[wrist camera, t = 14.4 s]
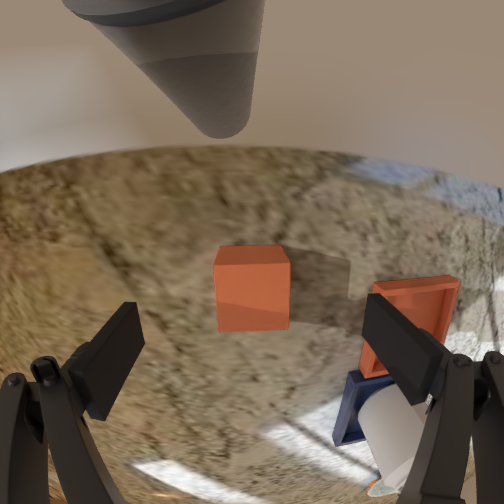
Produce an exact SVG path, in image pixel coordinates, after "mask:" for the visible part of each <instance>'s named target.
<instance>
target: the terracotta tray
mask: <svg viewBox="0 0 504 504" xmlns="http://www.w3.org/2000/svg"><path fill="white" fill-rule="evenodd" d="M459 284H460V281H458V280H456V279H455V278H453V277H451V276H450V275H445V276H436V277H427V278H417V279H406V280H395V281H383V282H374V284H373V292H372V293H380V294H381V295H382V296H383V297H385V298H386V299H387V300H388V301H389V302H390V303H391V304H392V305H393V306H395V307H396V308H397V309H398V310H399V311H400V312H401V313H402V314H403V315H404V316H405V317H407V318H408V319H409V320H410V321H411V322H412V323H413V324H414V325H415V326H416V327H417V328H422V329H424V330H426V331H428V332H429V333H431V334H432V335H433V336H434V338H436V339H437V340H438V341H439V342H440V343H441V344H442V345H443V343H444V340H445V337H446V334H447V331H448V327H449V324H450V321H451V317H452V313H453V310H454V306H455V302H456V297H457V293H458V289H459ZM359 369H360V371H361V372H362V374H363V376H364V378H370V377H375V376H380V375H385V374H389V373H388V371H387V370H386V369H385V367H384V366H383V364H382V363H381V361H380V360H379V359H378V357H377V356H376V354H375V353H374V351H373V350H372V349H371V347H370V346H369V344H368V343H367V342H366V340H364V345H363V349H362V354H361V359H360V363H359Z"/></svg>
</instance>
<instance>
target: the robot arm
mask: <svg viewBox="0 0 504 504" xmlns="http://www.w3.org/2000/svg"><path fill="white" fill-rule="evenodd" d="M362 336H363V338H364V339H365V340H366V342H367V343H368V344H369V346H370V347H371V349H372V350H373V351H374V353H375V354H376V356H377V357H378V359H379V360H380V361H381V363H382V364H383V366H384V367H385V369H386V370H387V371H388V373H389V374H390V376H391V377H392V379H393V380H394V382H395V383H396V384H397V386H398V387H399V389H400V390H401V392H402V393H403V395H404V396H405V398H406V399H407V401H408V402H409V404H410V405H411V406H414V405H417V404H420V403H423V402H425V400H426V398H427V395H428V393H430V394H431V395H432V397H433V398H432V400H431V402H430V404H429V406H428V408H427V410H426V412H425V414H426V415H427V418H426V422H425V426H424V429H423V433H422V436H421V440H420V443H419V446H418V449H417V452H416V455H415V458H414V461H413V464H412V466H411V469H410V472H409V474H408V477H407V479H406V482H405V484H404V487H403V489H402V491H401V493H400V496H399V498H398V500H397V502H396V504H466V503H465V500H464V499H461V498H460V494H461V490H462V486H463V482H464V477H465V472H466V467H467V462H468V456H469V449H470V441H471V437H472V443H473V451H474V460H475V471H476V488H477V504H504V356H503V355H502V354H501V353H499V352H497V351H489V352H487V353H486V354H485V356H484V358H483V361H477V362H473V361H472V360H471V358H470V357H468V356H466V355H463V354H452V353H451V352H450V351H449V350H448V349H447V348H446V347H445V346H443V345H442V344H441V343H440V342H439V341H438V340H437V339H436V338H434V336H433V335H432V334H431V333H429V332H428V331H426V330H424V329H422V328H417V327H416V326H415V325H414V324H413V323H412V322H411V321H410V320H409V319H408V318H407V317H405V316H404V315H403V314H402V313H401V312H400V311H399V310H398V309H397V308H396V307H395V306H393V305H392V304H391V303H390V302H389V301H388V300H387V299H386V298H385V297H383V296H382V295H381V294H380V293H372V294H368V297H367V304H366V311H365V317H364V324H363V330H362ZM144 344H145V341H144V337H143V332H142V328H141V323H140V318H139V314H138V308H137V303H136V302H124V303H123V304H122V305H121V306H120V308H119V309H118V310H117V311H116V312H115V313H114V314H113V316H112V317H111V318H110V319H109V320H108V321H107V323H106V324H105V325H104V326H103V327H102V328H101V330H100V331H99V332H98V333H97V334H96V335H95V337H94V338H93V339H92V340H91V341H90V342H85V343H84V344H82V345H81V346H79V347H78V348H77V349H76V351H75V352H74V354H72V355H71V357H70V358H69V359H68V360H67V361H66V363H65V364H64V365H63V366H62V367H61V369H60V368H59V365H58V363H57V361H56V359H55V358H54V357H52V356H43V357H40V358H37V359H36V360H35V361H33V363H32V364H31V366H30V369H31V371H32V373H33V376H34V378H35V380H36V382H27V380H26V378H25V376H24V374H22V373H17V372H16V373H12V374H9V375H8V376H7V377H6V378H5V379H4V381H3V384H2V386H1V389H0V504H50V498H49V485H48V444H49V448H50V452H51V455H52V459H53V462H54V466H55V469H56V472H57V475H58V478H59V481H60V484H61V487H62V490H63V492H64V495H65V497H66V500H67V502H68V504H127V503H126V501H125V500H124V498H123V497H122V495H121V493H120V492H119V490H118V488H117V486H116V485H115V483H114V481H113V479H112V477H111V475H110V474H109V472H108V470H107V468H106V466H105V464H104V462H103V460H102V458H101V456H100V453H99V451H98V449H97V447H96V445H95V443H94V440H93V438H92V436H91V433H90V431H89V428H88V426H87V423H86V421H85V419H84V417H83V413H84V411H85V410H86V411H87V412H88V414H89V416H90V418H92V419H96V420H101V421H105V420H106V418H107V416H108V414H109V412H110V410H111V408H112V406H113V404H114V402H115V400H116V398H117V396H118V394H119V392H120V390H121V388H122V386H123V384H124V382H125V380H126V378H127V376H128V375H129V373H130V371H131V369H132V367H133V365H134V363H135V361H136V359H137V357H138V356H139V354H140V352H141V350H142V348H143V346H144ZM427 413H428V414H427Z"/></svg>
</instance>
